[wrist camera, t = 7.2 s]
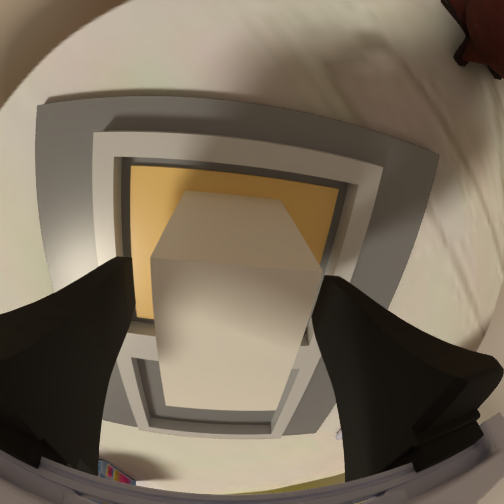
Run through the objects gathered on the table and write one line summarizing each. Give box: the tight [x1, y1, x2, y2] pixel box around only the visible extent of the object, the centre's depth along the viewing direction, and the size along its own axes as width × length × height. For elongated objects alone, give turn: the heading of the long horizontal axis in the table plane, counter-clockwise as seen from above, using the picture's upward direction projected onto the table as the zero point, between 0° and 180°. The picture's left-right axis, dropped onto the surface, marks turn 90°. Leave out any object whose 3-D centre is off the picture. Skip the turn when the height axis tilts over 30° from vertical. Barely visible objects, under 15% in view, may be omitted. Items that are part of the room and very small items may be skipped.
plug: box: [150, 190, 323, 411], centre depth 10 cm, size 4×7×6 cm, turn 172°
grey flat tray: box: [35, 96, 439, 439], centre depth 15 cm, size 20×25×2 cm
